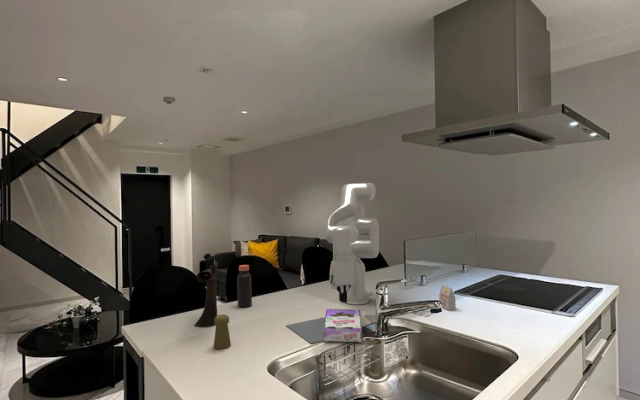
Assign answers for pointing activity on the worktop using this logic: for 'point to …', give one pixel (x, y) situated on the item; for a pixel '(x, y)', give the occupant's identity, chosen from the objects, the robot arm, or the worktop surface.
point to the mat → (310, 330)
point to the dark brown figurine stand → (208, 293)
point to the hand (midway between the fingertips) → (343, 301)
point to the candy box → (343, 325)
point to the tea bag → (447, 298)
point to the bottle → (244, 287)
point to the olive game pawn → (221, 332)
